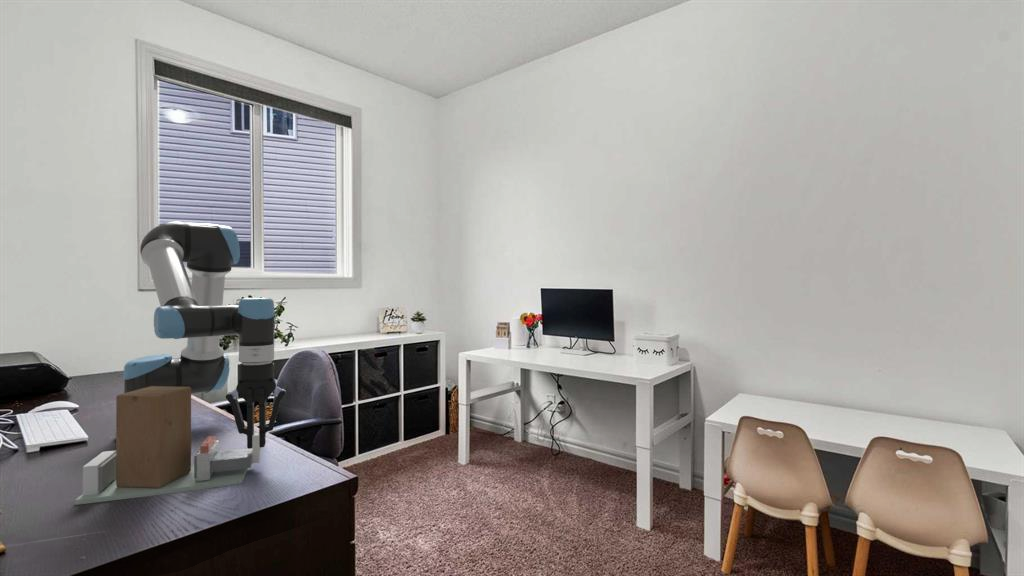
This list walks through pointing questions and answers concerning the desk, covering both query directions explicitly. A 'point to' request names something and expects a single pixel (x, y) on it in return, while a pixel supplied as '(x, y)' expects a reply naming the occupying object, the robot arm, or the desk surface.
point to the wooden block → (153, 436)
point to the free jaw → (219, 459)
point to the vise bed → (103, 488)
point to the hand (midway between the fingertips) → (256, 461)
